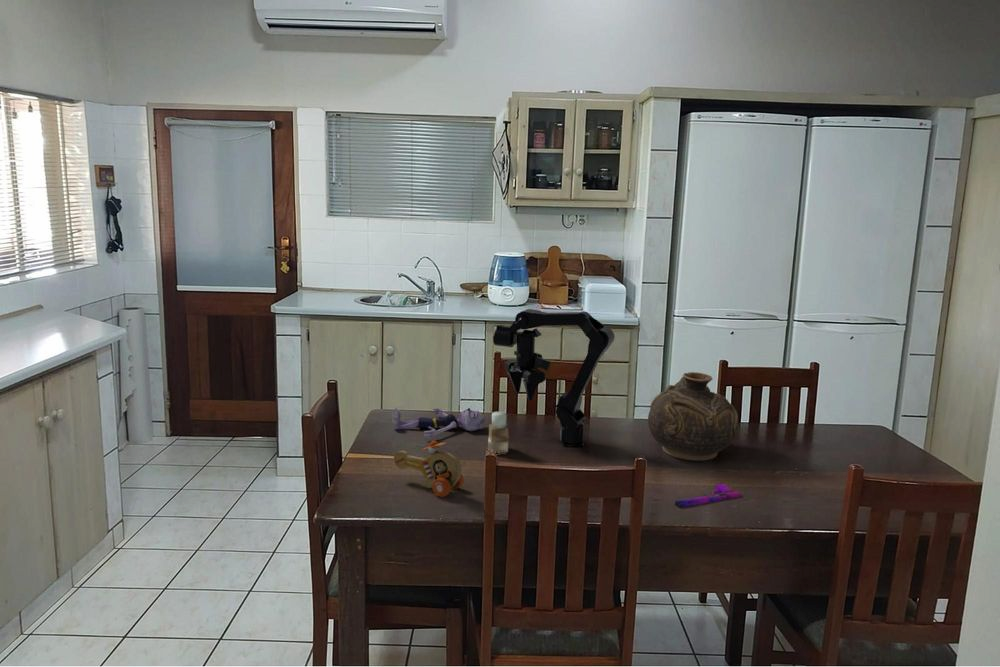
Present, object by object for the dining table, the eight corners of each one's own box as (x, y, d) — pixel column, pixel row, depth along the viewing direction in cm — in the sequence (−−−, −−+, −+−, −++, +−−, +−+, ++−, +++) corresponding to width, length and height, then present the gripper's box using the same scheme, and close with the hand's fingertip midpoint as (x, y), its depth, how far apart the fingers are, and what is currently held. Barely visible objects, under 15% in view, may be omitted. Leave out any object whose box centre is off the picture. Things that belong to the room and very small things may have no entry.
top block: (504, 436, 232) (505, 423, 231) (507, 441, 227) (508, 428, 226) (488, 436, 231) (489, 424, 230) (491, 441, 226) (491, 429, 225)
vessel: (682, 430, 253) (692, 359, 247) (752, 460, 231) (765, 383, 226) (625, 444, 237) (634, 368, 231) (695, 478, 215) (707, 395, 210)
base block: (507, 448, 233) (508, 436, 232) (507, 455, 227) (508, 442, 226) (488, 447, 233) (488, 435, 232) (487, 454, 227) (488, 441, 226)
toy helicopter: (450, 500, 193) (451, 449, 190) (385, 483, 203) (385, 434, 200) (467, 489, 200) (468, 440, 197) (404, 473, 210) (404, 426, 207)
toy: (399, 398, 261) (485, 391, 260) (402, 423, 263) (488, 417, 261) (386, 421, 235) (482, 414, 234) (390, 449, 237) (485, 442, 236)
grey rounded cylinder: (505, 424, 230) (506, 411, 229) (506, 428, 226) (506, 416, 225) (491, 424, 230) (491, 411, 229) (491, 428, 226) (491, 415, 225)
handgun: (722, 488, 208) (723, 481, 207) (742, 498, 201) (742, 491, 200) (661, 499, 199) (661, 492, 199) (679, 510, 192) (680, 503, 192)
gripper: (561, 353, 234) (559, 402, 237) (535, 341, 251) (533, 387, 254) (529, 356, 230) (527, 405, 233) (504, 343, 246) (503, 389, 249)
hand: (523, 396), depth 242 cm, fingers open, 9 cm apart
